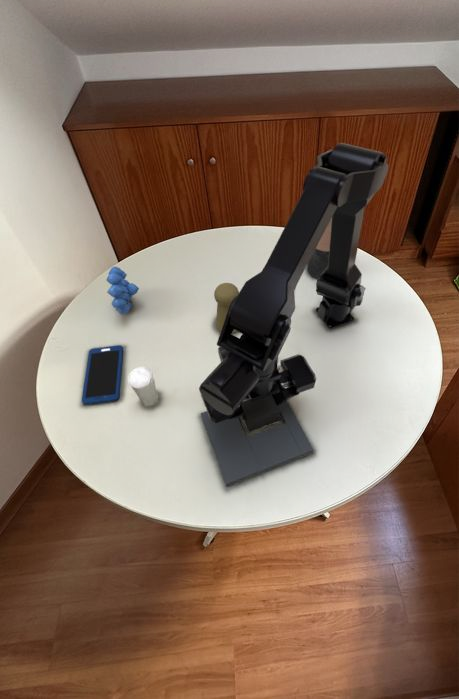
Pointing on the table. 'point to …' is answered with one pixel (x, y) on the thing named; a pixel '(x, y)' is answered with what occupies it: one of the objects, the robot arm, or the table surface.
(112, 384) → the cell phone
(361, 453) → the table surface
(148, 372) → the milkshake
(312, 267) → the travel mug
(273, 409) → the black block
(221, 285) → the olive pawn
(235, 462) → the base pad
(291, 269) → the robot arm
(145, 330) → the table surface
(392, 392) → the table surface
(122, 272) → the grapes
